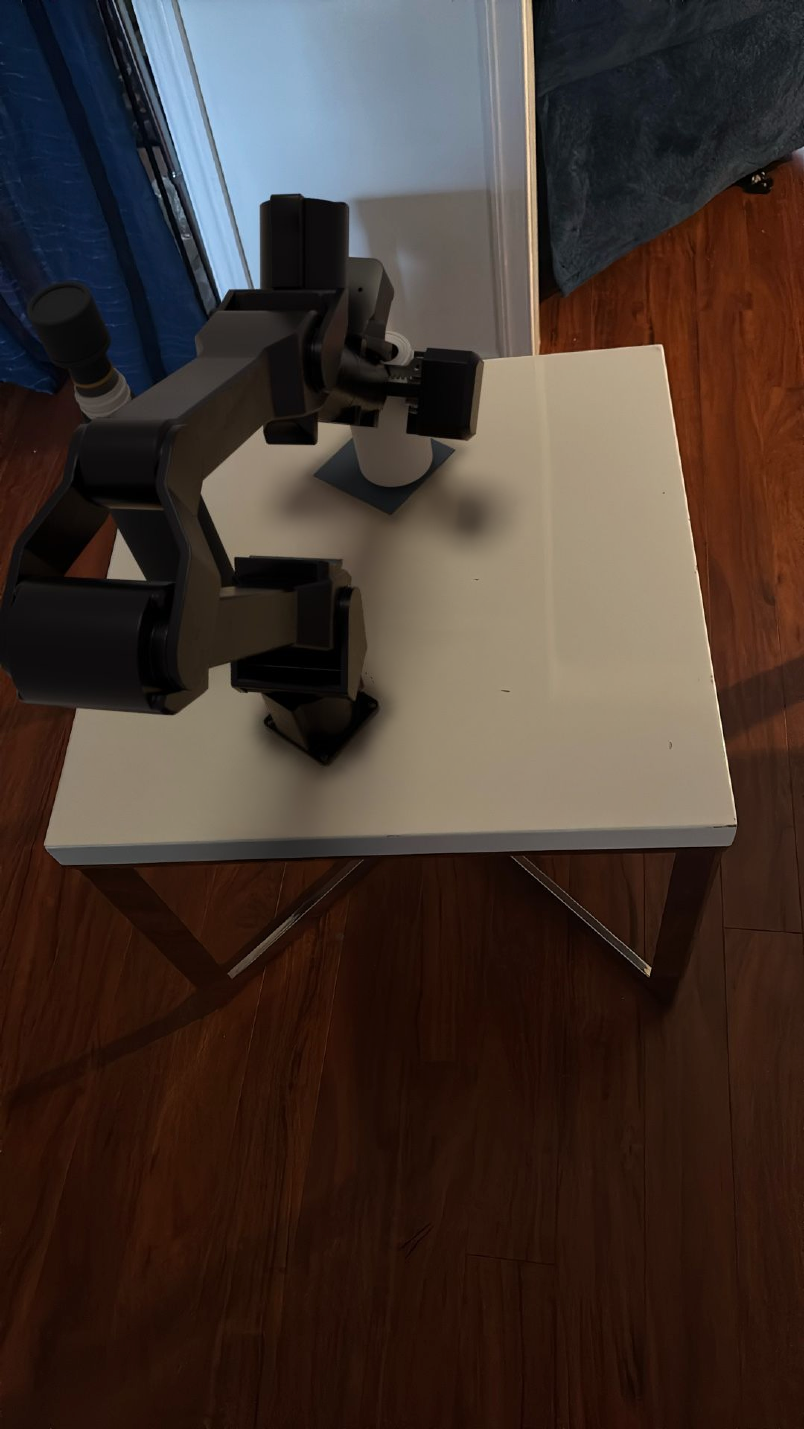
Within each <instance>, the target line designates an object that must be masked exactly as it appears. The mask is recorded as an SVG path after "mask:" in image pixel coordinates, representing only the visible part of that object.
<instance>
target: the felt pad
mask: <svg viewBox="0 0 804 1429" xmlns="http://www.w3.org/2000/svg"><path fill="white" fill-rule="evenodd" d="M430 441H431V447H432V462H431V465H430V467H429V469H428V470H427V471H426V473H425V474H424V475H423V476H421V477H420V478H419V479H417V480H416V481H414V482H412V483H409V484H406V485H403V486H397V487H385V486H380V485H377V484H374V483H372V482H370V481H369V480H368V479H366V478H365V476H364V475H363V474H362V472H361V469H360V466H359V462H358V458H357V453H356V449H355V445H354V441H353V437H352V436H351V438H350V439H349V440H347V441H346V443H345V444H343V445H342V446H341V448H339V449H338V450H337V451H336V452H335V453H334V454H333V455H332V456H331V457H330V458H329V459H328V460H327V461H325V463H323V465H322V466H320V467H319V469H318V470H316V471H315V472H314V473H313V474H312V475H313V477H315V478H317V479H319V480H321V481H323V482H326V483H327V484H329V485H330V486H333V487H335V488H336V489H338V490H340V491H341V492H344V493H346V494H348V495H350V496H352V497H354V498H355V499H358V500H360V501H362V502H363V503H366V504H368V505H369V506H372V507H374V508H375V509H377V510H379V511H381V512H383V513H385V514H387V515H389V516H392V515H393V514H394V513H395V512H396V511H397V510H398V509H399V508H400V507H401V506H402V504H404V503H405V502H406V501H407V500H408V499H409V498H410V497H411V496H412V495H413V494H414V493H415V492H416V490H418V489H419V488H420V487H421V486H422V484H424V483H425V481H427V479H428V478H430V476H431V475H433V473H434V472H435V471H437V469H438V468H440V467H441V465H442V464H443V463H444V462H445V461H446V460H447V459H448V458H449V457H450V456H452V454H453V453H454V452H455V451H456V449H455V448H453V447H451V446H449V445H447V444H444V443H443V442H440V441H438V440H436V439H434V438H433V437H430Z"/></svg>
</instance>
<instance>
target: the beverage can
mask: <svg viewBox="0 0 804 1429" xmlns="http://www.w3.org/2000/svg"><path fill="white" fill-rule="evenodd" d="M385 341H388V342H390V343H392V351H391V360H390V362H387V361H384V364H392V365H404V366H406V365H408V364H409V362H410V361H411V360H412V359H413V357H414V351H415V350H414V349H412V347H411V343H410V341H409V340H408V339H407V337H405V336H404V335H402V334H401V333H399V332H396V331H393V330H387V329H386V335H385ZM410 378H411V377H410ZM389 382H400V383H407V380H406V377H405V379H404V380H401V376H400V378H399V380H397V379H396V376H395V378H394V379H391V376H390V377H389ZM405 399H406V398H399V397H388V396H387V399H386V402H385V404H384V406H383V411H382V412H381V413H379V422H378V428H371V427H361V426H351V425H349V428H350V432H351V438H352V437H353V441H354V445H355V449H356V453H357V458H358V462H359V466H360V469H361V472H362V474H363V475H364V476H365V478H366V479H368V480H369V481H370V482H372V483H374V484H377V485H380V486H385V487H397V486H403V485H406V484H409V483H412V482H414V481H416V480H417V479H419V478H420V477H421V476H423V475H424V474H425V473H426V471H427V470H428V469H429V467H430V465H431V462H432V447H431V441H430V438H431V437H425V436H418V435H413V434H406V427H407V417H408V407H409V405H405Z"/></svg>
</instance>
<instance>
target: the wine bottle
mask: <svg viewBox="0 0 804 1429" xmlns="http://www.w3.org/2000/svg"><path fill="white" fill-rule="evenodd" d="M26 314H27V319H28V320H29V322H30V324H31V326H32V328H33V330H34V332H35V333H36V335H37V337H38V340H39V341H40V343H41V345H42V347H43V349H44V351H45V353H46V354H47V356H48V358H49V360H50V362H51V363H52V364H53V365H54V366H55V367H58V368H61V369H67V370H68V373H69V375H70V378H71V381H72V383H73V384H74V386H73V390H74V398H75V401H76V402H77V403H78V405H79V408H80V410H81V412H80V415H81V419H82V422H83V424H85V423H90V422H91V421H92V420H93V419H95V418H97V417H107V416H108V415H110V414H111V413H113V412H114V411H116V410H118V409H119V408H121V407H122V406H124V405H125V404H127V403H128V402H130V401H131V400H133V399H134V398H136V397H137V396H138V395H137V394H136V393H135V392H134V391H133V390H132V389H131V388H130V386H129V385H128V384H127V380H126V378H125V376H124V375H123V374H122V373H121V372H120V371H119V370H118V369H117V368H115V367H114V364H113V363H112V361H111V360H110V358H109V357H108V354H107V353H108V350H109V349H110V347H111V344H112V337H111V334H110V332H109V330H108V327H107V326H106V323H105V321H104V319H103V316H102V313H101V312H100V310H99V308H98V306H97V303H96V301H95V299H94V297H93V294H92V293H91V290H90V288H88V287H87V286H86V285H85V284H84V283H82V282H77V281H69V280H66V281H60V282H55V283H52V284H50V285H48V286H46V287H44V288H42V289H41V290H39V291H38V292H37V293H35V294H34V295H33V296H32V297H31V299H30V301H29V302H28V303H27V307H26ZM109 516H110V517H111V518H112V520H113V522H114V524H115V526H116V528H117V530H118V531H119V533H120V536H121V537H122V538H123V541H124V543H125V544H126V546H127V548H128V550H129V552H130V553H131V555H132V557H133V559H134V561H135V562H136V564H137V566H138V568H139V569H140V571H141V573H142V575H143V577H144V580H147V581H168V582H176V578H177V572H178V566H179V560H180V550H179V548H178V545H177V543H176V540H175V538H174V535H173V532H172V530H171V527H170V525H169V522H168V520H167V517H166V515H165V512H164V510H147V509H116V508H110V513H109ZM197 519H198V521H199V524H200V526H201V529H202V531H203V534H204V536H205V539H206V541H207V544H208V546H209V549H210V551H211V554H212V556H213V559H214V561H215V564H216V566H217V569H218V571H219V573H220V576H221V588H223V587H231V579H232V577H233V576H234V575H235V568H234V566H233V565H232V563H231V560H230V557H229V556H228V553H227V550H226V548H225V546H224V544H223V541H222V539H221V537H220V535H219V533H218V532H219V531H218V530H217V528H216V525H215V523H214V521H213V518H212V516H211V514H210V511H209V509H208V507H207V504H206V502H205V500H204V497H203V495H202V494H201V496H200V502H199V508H198V514H197Z"/></svg>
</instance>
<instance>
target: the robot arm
mask: <svg viewBox="0 0 804 1429" xmlns="http://www.w3.org/2000/svg"><path fill="white" fill-rule="evenodd" d="M394 298H395V288H394V286H393V284H392V281H391V279H390V277H389V275H388V274H387V271H386V269H385V267H384V265H383V263H382V261H381V260H380V259H378V258H375V257H362V256H361V257H360V256H350V206H349V204H348V203H347V202H345V201H333V200H328V199H323V198H315V197H305V196H304V195H303V194H302V193H299V192H298V193H275V194H274V193H272V194H270V196H269V200H265V201H263V202H261V203H260V204H259V288H229V289H228V290H227V291H226V293H225V295H224V297H223V299H222V300H221V302H220V304H219V305H218V307H217V308H213V310H212V313H211V315H210V317H209V319H208V320H207V321H206V323H205V324H203V326H202V327H201V329H200V330H199V331H198V332H197V333H196V335H195V336H194V342H195V350H196V358H194V359H193V360H191V361H189V362H188V363H186V364H185V365H183V366H182V367H180V368H178V369H176V370H175V371H174V372H172V373H171V374H169V375H168V376H166V377H165V378H164V379H162V380H160V381H159V382H157V383H156V384H154V385H153V386H151V387H149V388H148V389H147V390H145V391H144V392H142V393H141V394H139V395H136V396H137V397H136V398H134V399H133V400H131V401H130V402H128V403H127V404H125V405H124V406H122V407H121V408H119V409H118V410H116V411H114V412H113V413H111V414H110V415H108V416H107V417H97V418H95V419H93V420H92V421H91V422H90V423H80V424H79V425H77V427H76V428H75V430H74V431H73V432H72V434H71V438H70V441H69V443H68V449H67V454H66V459H65V464H64V468H63V473H62V479H61V481H60V483H59V484H58V486H56V488H55V490H54V491H53V492H52V493H51V495H50V496H49V497H48V498H47V500H46V501H45V502H44V503H43V505H42V506H41V507H40V508H39V510H38V512H36V514H35V515H34V517H33V518H32V519H31V520H30V522H29V523H28V524H27V526H26V527H25V528H24V529H23V531H22V532H21V533H20V535H19V536H18V537H17V538H16V540H15V542H14V545H13V547H12V551H11V555H10V560H9V565H8V571H7V575H6V581H5V584H4V590H3V594H2V600H1V603H0V667H1V668H2V671H3V672H4V673H5V674H7V675H8V676H9V677H10V678H11V680H12V683H13V687H14V688H15V689H16V692H15V695H16V697H17V699H18V700H19V701H20V702H22V703H24V704H26V705H31V706H43V707H53V708H54V707H55V708H68V709H82V710H93V711H94V710H95V711H106V712H117V713H118V712H119V713H132V714H133V713H134V714H145V715H159V716H176V715H177V714H179V713H180V712H182V711H183V710H184V709H185V708H187V707H188V706H189V705H191V704H192V703H194V701H196V700H198V699H199V698H200V697H202V696H203V694H205V693H206V692H207V691H208V690H209V689H210V686H209V685H210V680H209V679H210V677H209V674H210V669H212V668H216V667H220V666H223V665H227V664H230V665H229V666H230V686H231V688H232V689H234V690H235V691H237V692H238V693H240V694H248V693H255V694H260V695H261V697H262V699H263V701H264V704H265V706H266V708H267V710H268V714H267V716H265V717H264V718H263V725H264V726H265V728H266V729H267V730H269V731H270V732H271V733H273V735H276V736H277V737H279V738H280V739H281V740H283V741H284V742H286V743H288V744H289V745H291V746H292V747H294V748H295V749H296V750H297V751H299V752H301V753H302V754H304V755H305V756H307V757H309V759H311V760H312V761H314V762H316V763H317V764H319V765H320V766H322V767H324V766H325V767H326V766H329V765H330V764H331V763H332V762H333V761H334V760H335V759H336V758H337V756H338V755H339V754H340V753H341V752H342V751H343V750H344V749H345V748H346V747H347V745H348V744H349V743H350V742H351V741H352V740H353V739H354V737H355V736H356V735H357V734H358V733H359V732H361V730H362V729H363V728H364V726H366V724H367V723H368V722H369V721H370V720H371V719H372V718H373V716H374V715H375V714H376V713H377V712H378V711H379V709H380V703H379V701H378V700H377V699H376V698H374V697H373V696H372V695H370V694H368V693H367V692H365V691H363V689H364V688H365V682H364V679H363V676H362V673H363V669H364V665H365V664H364V663H365V659H366V656H367V651H368V641H367V633H366V632H367V631H366V623H365V614H364V613H365V612H364V604H363V597H362V592H361V590H360V589H361V588H359V587H358V586H352V582H353V577H352V575H351V574H350V573H349V571H348V570H346V569H342V568H343V563H344V561H343V560H344V559H343V558H325V557H324V558H323V557H304V556H303V557H301V556H299V557H298V556H280V555H279V556H278V555H277V556H276V555H255V554H254V555H253V554H250V555H249V556H234V557H233V564H234V566H233V568H234V572H235V575H234V576H233V577H232V579H231V587H223V588H221V576H220V573H219V571H218V569H217V566H216V564H215V561H214V559H213V556H212V554H211V551H210V549H209V546H208V544H207V541H206V539H205V536H204V534H203V531H202V529H201V526H200V524H199V521H198V519H197V514H198V508H199V502H200V496H201V495H202V489H203V483H204V481H205V480H206V479H207V478H208V477H209V476H210V475H212V473H213V472H214V471H216V470H217V469H218V468H219V467H220V466H221V465H223V463H225V461H226V460H227V459H229V458H230V457H231V455H233V454H234V453H235V452H236V451H237V450H238V449H239V448H241V446H242V445H244V444H245V443H246V442H247V441H248V440H249V439H250V438H251V437H252V436H253V435H254V434H256V433H257V432H258V431H259V430H260V429H261V428H262V435H263V437H264V441H265V443H266V444H267V445H270V446H316V445H317V444H318V442H319V423H322V424H330V425H331V424H333V425H341V426H342V425H343V426H350V425H351V426H361V427H371V428H378V422H379V413H381V412H382V411H383V406H384V404H385V402H386V399H387V396H388V397H399V398H406V399H405V405H409V407H408V417H407V427H406V434H413V435H418V436H425V437H430V438H432V439H434V438H435V439H444V440H454V441H464V442H469V441H470V440H471V439H472V438H473V437H475V436H476V435H477V429H478V420H479V419H478V418H479V413H480V412H479V411H480V404H481V402H480V401H481V395H482V386H483V385H482V384H483V377H484V368H485V362H484V360H483V358H482V357H481V356H480V355H479V353H477V352H475V351H473V350H465V349H453V348H452V349H451V348H438V347H437V348H436V347H426V349H425V351H422V350H413V351H414V357H413V359H412V360H411V361H410V362H409V364H408V365H406V366H404V365H392V364H384V361H387V362H390V360H391V351H392V343H390V342H388V341H385V335H386V330H387V327H388V321H389V318H390V317H389V316H390V311H391V307H392V302H393V301H394ZM390 376H391V379H394V378H395V376H396V379H397V380H399V378H400V376H401V380H404V379H405V377H406V380H407V383H400V382H389V377H390ZM410 377H411V378H410ZM110 508H116V509H147V510H164V512H165V515H166V517H167V520H168V522H169V525H170V527H171V530H172V532H173V535H174V538H175V540H176V543H177V545H178V548H179V550H180V560H179V566H178V572H177V578H176V582H168V581H147V580H146V579H144V580H143V579H124V578H104V577H103V578H102V577H83V576H82V577H81V576H65V575H67V572H68V571H69V570H70V569H71V567H72V566H73V565H74V564H75V562H76V561H77V559H78V558H79V557H80V555H81V554H82V553H83V552H84V550H85V549H86V547H88V546H89V544H90V543H91V541H92V540H93V538H94V537H95V536H96V535H97V533H98V532H99V531H100V530H101V528H102V527H103V526H104V524H105V523H106V522H107V520H108V517H109V516H110ZM372 705H374V706H372ZM270 722H271V723H270ZM323 758H326V759H323Z"/></svg>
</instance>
